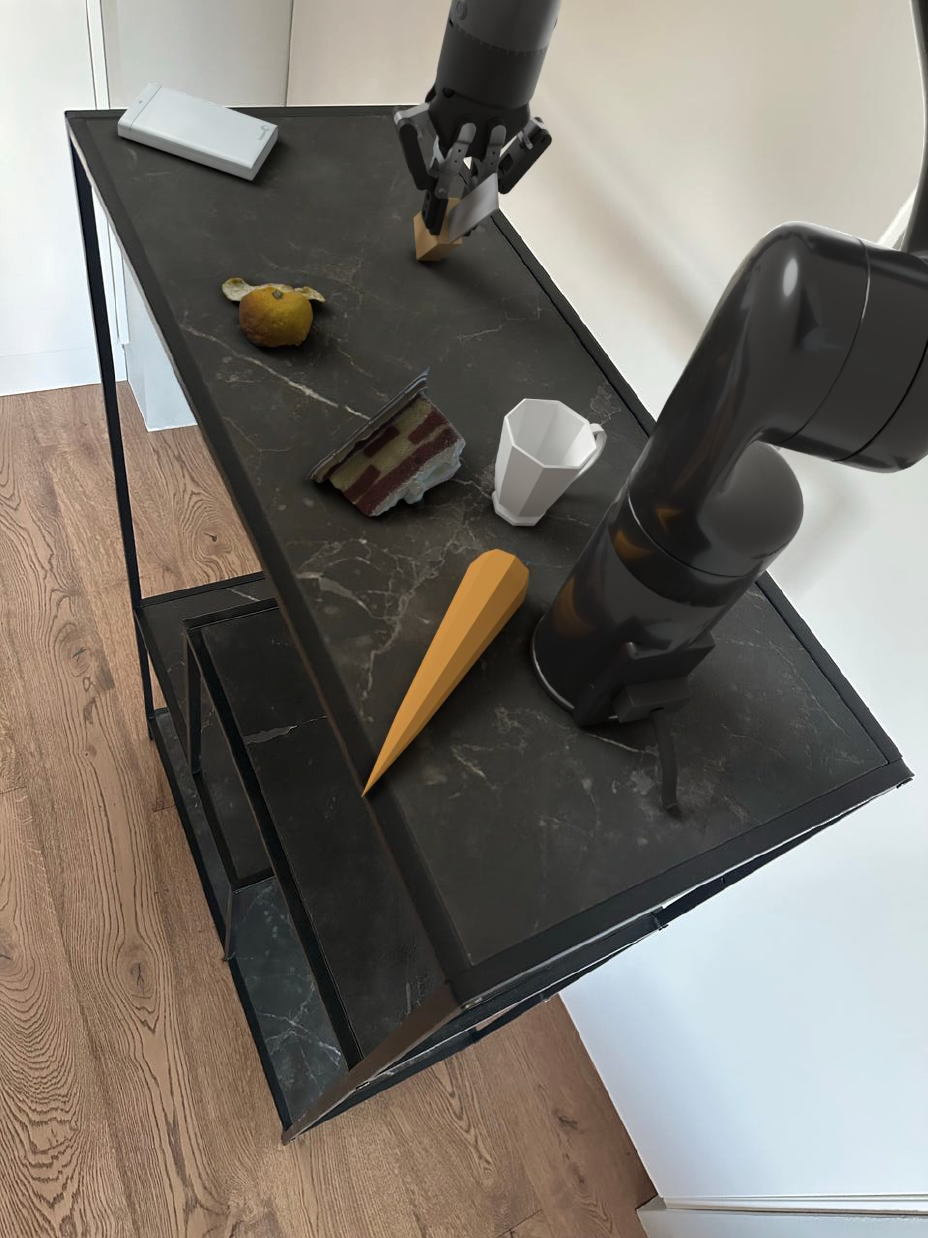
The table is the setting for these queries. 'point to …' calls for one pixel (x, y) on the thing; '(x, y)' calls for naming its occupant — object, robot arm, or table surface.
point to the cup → (541, 458)
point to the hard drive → (198, 130)
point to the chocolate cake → (395, 453)
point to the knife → (457, 221)
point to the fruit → (273, 311)
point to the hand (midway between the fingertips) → (446, 229)
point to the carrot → (457, 645)
